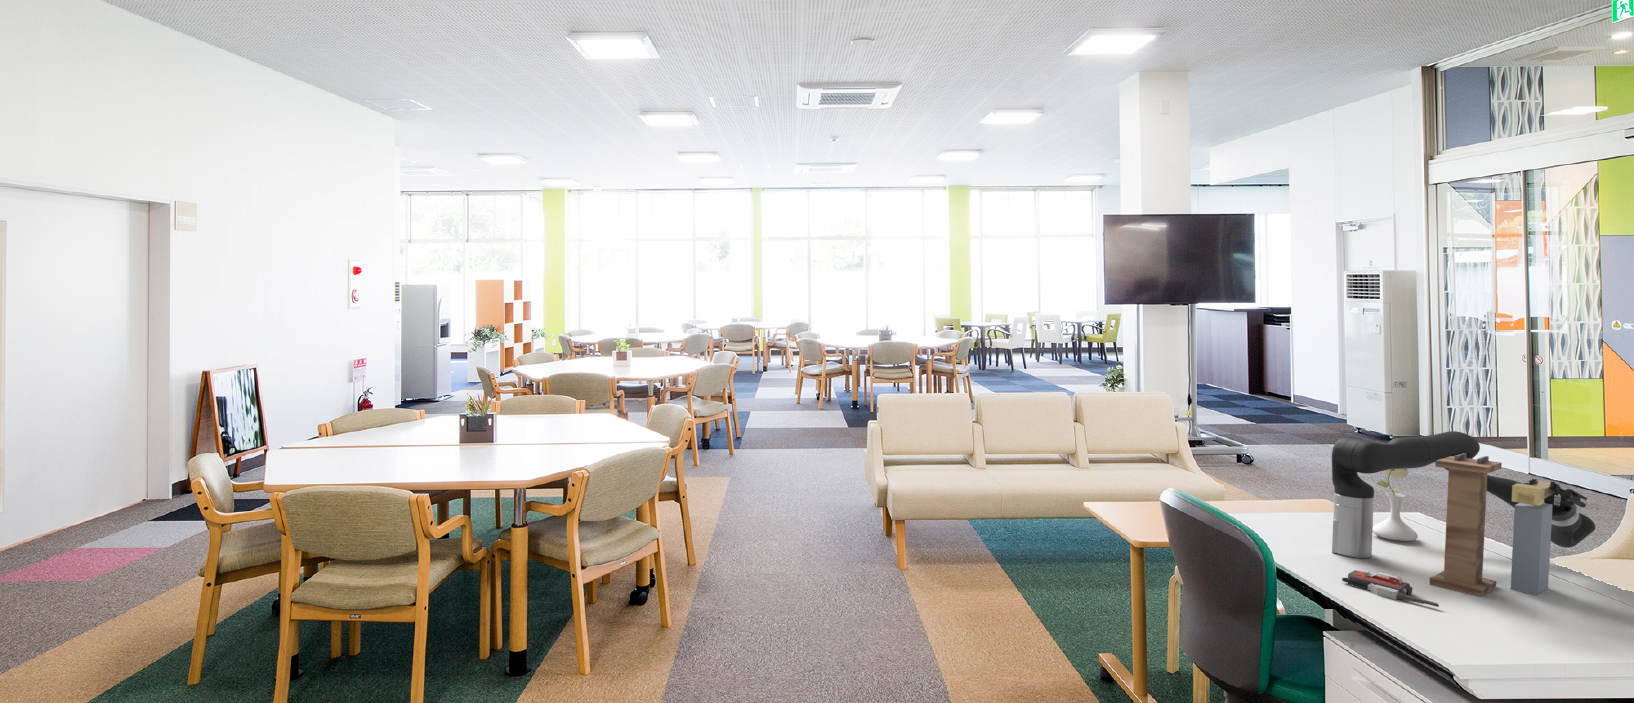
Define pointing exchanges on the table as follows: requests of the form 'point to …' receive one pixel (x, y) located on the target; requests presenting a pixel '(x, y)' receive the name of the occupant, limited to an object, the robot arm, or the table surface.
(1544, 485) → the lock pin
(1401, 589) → the red long two-tone device
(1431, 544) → the table surface
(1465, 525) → the brown wooden pedestal
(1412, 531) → the flower in vase
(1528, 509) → the grey rectangular pillar
